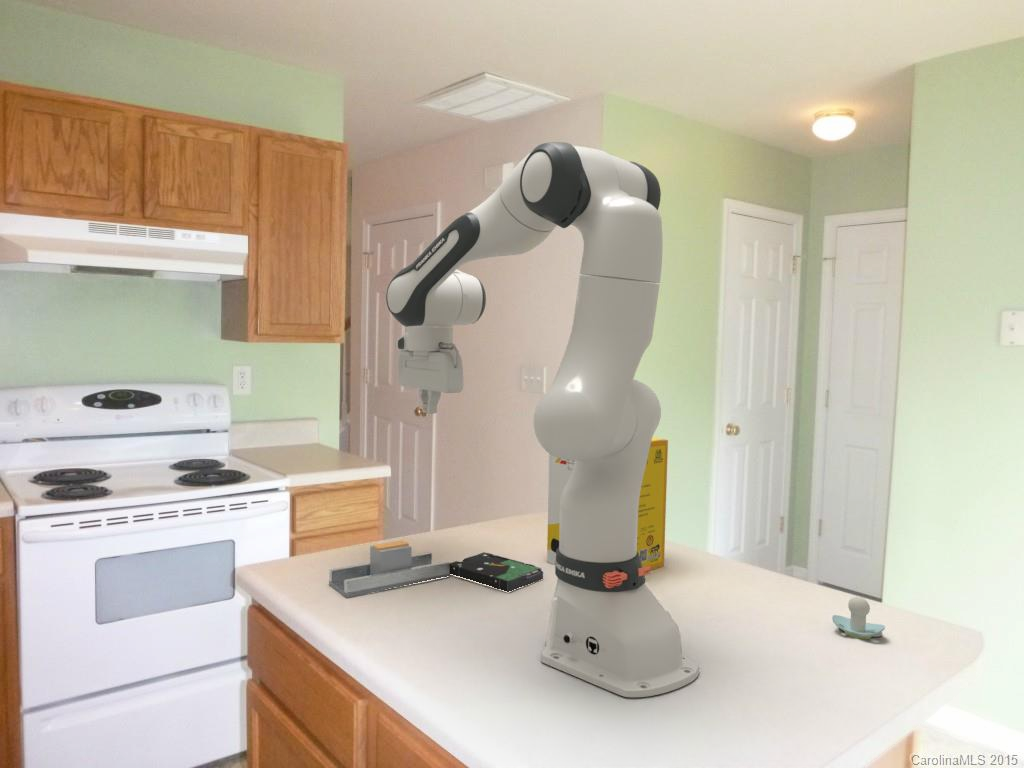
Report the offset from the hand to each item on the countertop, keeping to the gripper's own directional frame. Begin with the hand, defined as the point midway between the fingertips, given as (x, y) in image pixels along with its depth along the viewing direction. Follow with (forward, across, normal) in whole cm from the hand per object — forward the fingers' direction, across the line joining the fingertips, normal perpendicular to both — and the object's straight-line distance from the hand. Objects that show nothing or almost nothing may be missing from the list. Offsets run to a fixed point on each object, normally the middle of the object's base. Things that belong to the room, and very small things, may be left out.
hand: (429, 413), depth 148 cm
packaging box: (+29, -21, -28) cm, 46 cm away
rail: (+29, -8, +12) cm, 33 cm away
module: (+28, -8, +12) cm, 32 cm away
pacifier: (+29, -68, -38) cm, 83 cm away
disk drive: (+30, -16, -5) cm, 34 cm away
